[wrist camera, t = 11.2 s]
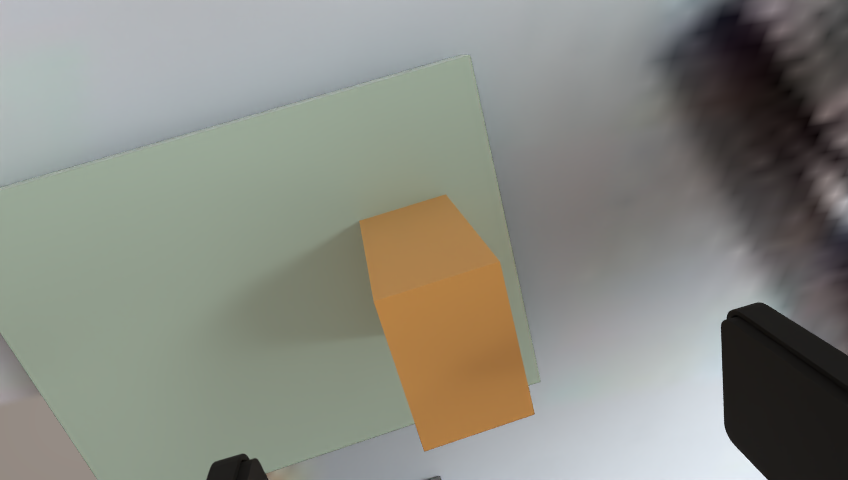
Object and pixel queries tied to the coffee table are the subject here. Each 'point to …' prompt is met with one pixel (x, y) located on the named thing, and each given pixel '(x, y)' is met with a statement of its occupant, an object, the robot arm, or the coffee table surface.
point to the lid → (274, 284)
